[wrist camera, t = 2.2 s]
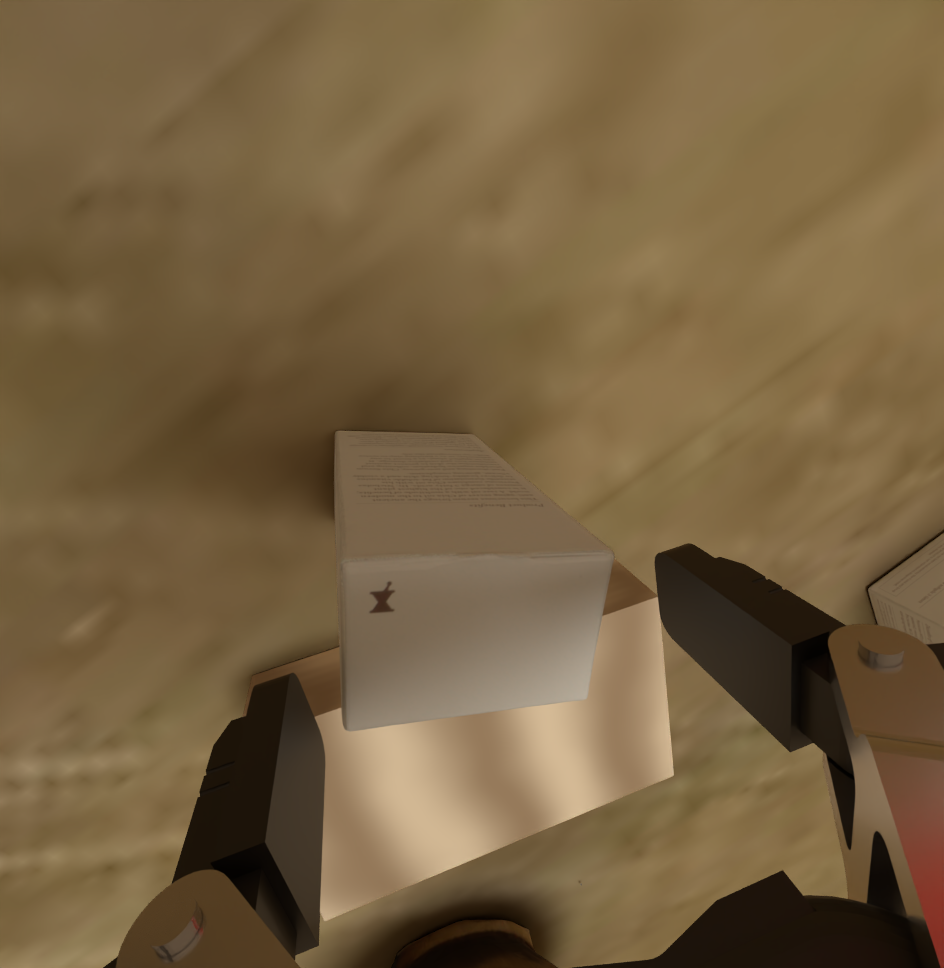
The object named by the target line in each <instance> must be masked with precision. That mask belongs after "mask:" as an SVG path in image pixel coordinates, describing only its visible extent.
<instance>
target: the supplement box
mask: <svg viewBox="0 0 944 968" xmlns="http://www.w3.org/2000/svg"><path fill="white" fill-rule="evenodd" d="M868 592H869V596H870V599H871V603H872V607H873V610H874V613H875V617H876V620H877V623H878V625H880V626H885V627H889V628H893V629H897V630H899V631H902V632H905V633H907V634H909V635H911V636H913V637H915V638H917V639H919V640H920V641H922V642H923V643H924V644H935V643H944V533H943V534H941V535H940V536H939V537H937V538H936V539H935V540H933V541H932V542H930V543H929V544H928V545H926V546H925V547H924V548H922V549H921V550H920V551H918V552H917V553H916V554H914V555H913V556H912V557H910V558H909V559H908V560H906V561H905V562H903V563H902V564H901V565H899V566H898V567H897V568H895V569H894V570H892V571H891V572H890V573H888V574H887V575H886V576H884V577H883V578H882V579H880V580H879V581H878V582H876V583H875V584H873V585H872V586H871V587H869V588H868Z"/></svg>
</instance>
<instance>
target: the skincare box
mask: <svg viewBox="0 0 944 968" xmlns="http://www.w3.org/2000/svg"><path fill="white" fill-rule="evenodd" d="M334 504H335V544H336V568H337V596H338V625H339V651H340V685H341V711H342V722H343V726H344V729H345V730H346V731H350V732H351V731H358V730H365V729H372V728H378V727H385V726H391V725H399V724H406V723H414V722H421V721H428V720H435V719H443V718H451V717H458V716H466V715H473V714H481V713H488V712H496V711H503V710H510V709H517V708H524V707H532V706H540V705H548V704H555V703H562V702H570V701H581V700H585V699H587V697H588V691H589V684H590V678H591V673H592V667H593V661H594V655H595V650H596V645H597V640H598V635H599V631H600V626H601V621H602V615H603V610H604V605H605V599H606V594H607V589H608V584H609V579H610V575H611V570H612V566H613V561H614V553H613V551H612V550H611V549H609V548H608V547H607V546H606V545H605V544H604V543H603V542H601V541H600V540H599V539H598V538H596V537H595V536H594V535H593V534H591V533H590V532H589V531H588V530H587V529H586V528H584V527H583V526H582V525H581V524H580V523H578V522H577V521H576V520H575V519H574V518H572V517H571V516H570V515H569V514H567V513H566V512H565V511H564V510H563V509H562V508H560V507H559V506H558V505H557V504H556V503H555V502H553V501H552V500H551V499H550V498H548V497H547V496H546V495H545V494H544V493H543V492H541V491H540V490H539V489H538V488H537V487H536V486H534V485H533V484H532V483H531V482H530V481H528V480H527V479H526V478H525V477H524V476H523V475H521V474H520V473H519V472H518V471H517V470H515V469H514V468H513V467H512V466H511V465H510V464H508V463H507V462H506V461H505V460H504V459H502V458H501V457H500V456H499V455H498V454H496V453H495V452H494V451H493V450H492V449H491V448H489V447H488V446H487V445H486V444H485V443H484V442H482V441H481V440H480V439H479V438H478V437H477V436H475V435H474V434H451V433H415V432H372V431H336V433H335V455H334Z"/></svg>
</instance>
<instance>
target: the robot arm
mask: <svg viewBox="0 0 944 968" xmlns="http://www.w3.org/2000/svg"><path fill="white" fill-rule="evenodd" d="M655 572H656V582H657V593H658V603H659V612H660V617H661V620H662V622H663V625H664V627H665V629H666V631H667V632H668V634H669V635H670V636H671V638H672V639H673V640H674V641H675V642H676V643H677V644H678V645H679V646H680V647H681V648H682V649H683V650H685V651H686V652H687V653H688V654H689V655H690V656H691V657H692V658H693V659H694V660H695V661H696V662H697V663H698V664H699V665H700V666H701V667H702V668H703V669H704V670H705V671H706V672H707V673H708V674H709V675H710V676H712V677H713V678H714V679H715V680H716V681H717V682H718V683H719V684H720V685H721V686H722V687H723V688H724V689H725V690H726V691H727V692H728V693H729V694H730V695H731V696H732V697H733V698H734V699H735V700H736V701H738V702H739V703H740V704H741V705H742V706H743V707H744V708H745V709H746V710H747V711H748V712H749V713H750V714H751V715H752V716H753V717H754V718H755V719H756V720H757V721H758V722H759V723H760V724H761V725H762V726H763V727H765V728H766V729H767V730H768V731H769V732H770V733H771V734H772V735H773V736H774V737H775V738H776V739H777V740H778V741H779V742H780V743H781V744H782V745H783V746H784V747H785V748H786V749H787V750H788V751H789V752H792V751H795V750H797V749H799V748H802V747H804V746H807V745H809V744H811V743H814V744H816V745H817V746H818V747H819V748H820V749H821V750H822V751H823V768H824V772H825V777H826V782H827V786H828V791H829V796H830V800H831V805H832V809H833V814H834V819H835V823H836V828H837V833H838V837H839V842H840V846H841V851H842V856H843V860H844V866H845V872H846V879H847V891H848V899H845V898H839V897H833V896H812V895H806V896H803V895H802V894H801V893H800V891H799V890H798V889H797V888H796V886H795V885H794V884H793V883H792V881H791V880H790V879H789V878H788V876H787V875H786V874H785V873H784V871H783V870H782V871H780V872H778V873H776V874H774V875H771V876H769V877H767V878H765V879H763V880H760V881H758V882H756V883H754V884H752V885H750V886H747V887H745V888H743V889H741V890H739V891H736V892H734V893H732V894H730V895H728V896H725V897H723V898H721V899H719V900H717V901H716V902H715V903H714V904H713V905H712V906H710V907H709V908H708V909H707V910H706V911H705V912H704V913H703V914H702V915H701V916H700V917H699V918H698V919H697V920H696V921H695V922H694V923H693V924H692V925H691V926H690V927H689V928H688V929H687V930H686V931H685V932H684V933H683V934H682V935H681V936H680V937H679V938H678V939H677V940H676V941H675V942H674V943H673V944H672V945H671V946H670V947H669V948H668V949H667V950H666V951H665V952H664V953H663V954H661V955H660V956H658V957H656V958H654V959H650V960H642V961H632V962H623V963H613V964H603V965H593V966H583V967H574V968H944V643H935V644H924V643H923V642H922V641H920V640H919V639H917V638H915V637H913V636H911V635H909V634H907V633H905V632H902V631H899V630H897V629H893V628H889V627H885V626H880V625H872V624H853V625H848V626H846V625H844V624H843V623H841V622H839V621H838V620H836V619H834V618H833V617H831V616H829V615H828V614H826V613H824V612H823V611H821V610H819V609H818V608H816V607H815V606H813V605H811V604H810V603H808V602H806V601H805V600H803V599H801V598H800V597H798V596H796V595H795V594H793V593H791V592H790V591H788V590H786V589H785V590H783V589H782V587H781V586H780V585H778V584H776V583H775V582H773V581H772V580H770V579H768V580H766V578H765V576H763V575H762V574H760V573H758V572H757V571H755V570H753V569H752V568H750V567H748V566H747V565H745V564H742V563H738V562H735V561H732V560H728V559H725V558H722V557H718V558H714V557H712V556H711V555H709V554H708V553H706V552H705V551H703V550H701V549H700V548H698V547H697V546H695V545H693V544H685V545H682V546H679V547H676V548H673V549H670V550H667V551H664V552H661V553H658V554H657V555H656V557H655ZM324 790H325V750H324V744H323V739H322V736H321V732H320V729H319V727H318V724H317V722H316V720H315V717H314V715H313V712H312V710H311V708H310V705H309V703H308V700H307V698H306V695H305V693H304V691H303V688H302V686H301V683H300V681H299V679H298V677H297V676H296V674H295V673H290V674H287V675H284V676H281V677H278V678H275V679H272V680H269V681H266V682H263V683H260V684H257V685H255V686H254V687H253V689H252V693H251V697H250V701H249V705H248V709H247V713H246V716H244V717H241V718H238V719H235V720H232V721H231V722H230V723H229V725H228V726H227V727H226V729H225V730H224V732H223V733H222V734H221V736H220V737H219V739H218V740H217V741H216V743H215V744H214V746H213V749H212V752H211V756H210V759H209V762H208V765H207V769H206V776H204V779H203V782H202V785H201V789H200V797H198V799H197V802H196V805H195V808H194V812H193V815H192V818H191V822H190V825H189V828H188V832H187V835H186V838H185V841H184V845H183V848H182V851H181V855H180V858H179V861H178V865H177V868H176V871H175V874H174V878H173V881H172V884H171V885H170V886H168V887H167V888H165V889H164V890H163V891H162V892H161V893H160V894H158V895H157V896H156V897H155V898H154V899H153V900H152V901H151V902H150V903H149V904H148V905H147V906H146V908H145V909H144V910H143V911H142V912H141V914H140V915H139V916H138V918H137V919H136V920H135V922H134V923H133V925H132V926H131V928H130V930H129V931H128V933H127V935H126V937H125V939H124V941H123V943H122V946H121V948H120V951H119V955H118V957H117V958H115V959H114V960H113V961H111V962H110V963H109V964H107V965H106V966H105V967H103V968H300V967H299V965H298V964H297V963H296V962H295V955H297V954H300V953H302V952H305V951H307V950H309V949H312V948H314V947H317V946H319V923H320V896H321V870H322V843H323V817H324Z"/></svg>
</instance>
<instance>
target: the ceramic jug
mask: <svg viewBox="0 0 944 968" xmlns="http://www.w3.org/2000/svg"><path fill="white" fill-rule="evenodd" d="M580 885H582V883H581V884H580ZM391 968H558V967H556V966H555V965H553V964H552V963H550V962H549V961H547V960H546V959H544V958H543V957H541V956H540V955H538V954H537V953H536V952H535V950H534V948H533V945H532V941H531V937H530V932H529V929H527V928H524V927H521V926H519V925H517V924H515V923H513V922H511V921H506V920H464V921H460V922H455V923H453V924H451V925H449V926H447V927H444V928H442V929H440V930H438V931H435V932H433V933H431V934H429V935H427V936H425V937H423V938H421V939H419V940H417V941H415V942H413V943H410V944H408V945H407V946H406V947H404V948H403V949H402V950H401V951H400V952H398V953H397V955H396V958H395V961H394V963H393V965H392V967H391Z"/></svg>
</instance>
